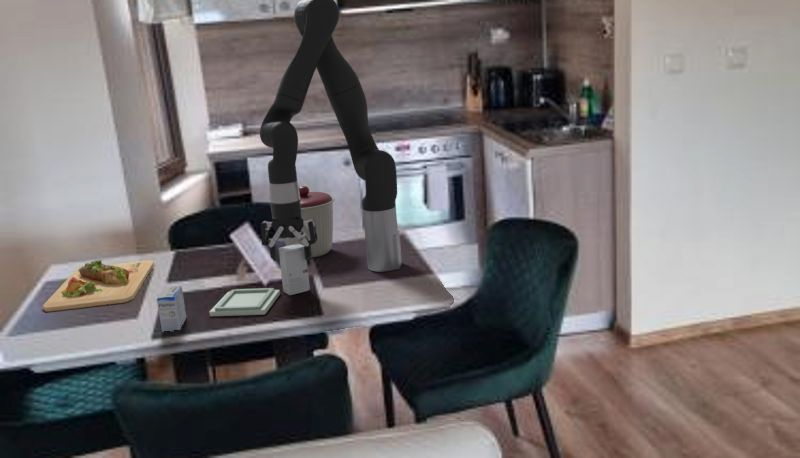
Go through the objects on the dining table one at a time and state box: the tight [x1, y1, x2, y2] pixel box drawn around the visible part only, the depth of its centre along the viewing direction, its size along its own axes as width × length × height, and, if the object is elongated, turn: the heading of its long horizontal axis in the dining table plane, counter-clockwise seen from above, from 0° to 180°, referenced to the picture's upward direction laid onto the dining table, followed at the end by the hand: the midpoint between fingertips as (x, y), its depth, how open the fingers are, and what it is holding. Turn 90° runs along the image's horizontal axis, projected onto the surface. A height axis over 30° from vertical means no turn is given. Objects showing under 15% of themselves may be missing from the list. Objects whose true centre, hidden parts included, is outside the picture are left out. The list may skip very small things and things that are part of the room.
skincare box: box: [277, 244, 311, 296], centre depth 198 cm, size 6×4×12 cm
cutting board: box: [42, 259, 155, 313], centre depth 217 cm, size 35×23×8 cm
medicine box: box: [156, 285, 187, 333], centre depth 182 cm, size 8×4×9 cm, turn 5°
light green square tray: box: [208, 287, 281, 317], centre depth 192 cm, size 14×14×2 cm
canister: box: [283, 185, 336, 259], centre depth 229 cm, size 18×18×21 cm
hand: (291, 259), depth 198 cm, fingers open, 8 cm apart
